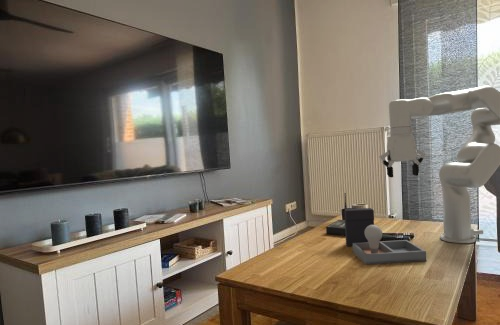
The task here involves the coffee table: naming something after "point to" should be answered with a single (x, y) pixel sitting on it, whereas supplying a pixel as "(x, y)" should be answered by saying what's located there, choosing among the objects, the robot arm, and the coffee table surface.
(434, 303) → the coffee table surface
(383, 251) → the sorting tray
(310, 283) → the coffee table surface
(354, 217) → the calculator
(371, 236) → the lightbulb
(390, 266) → the coffee table surface
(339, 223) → the wireless controller
